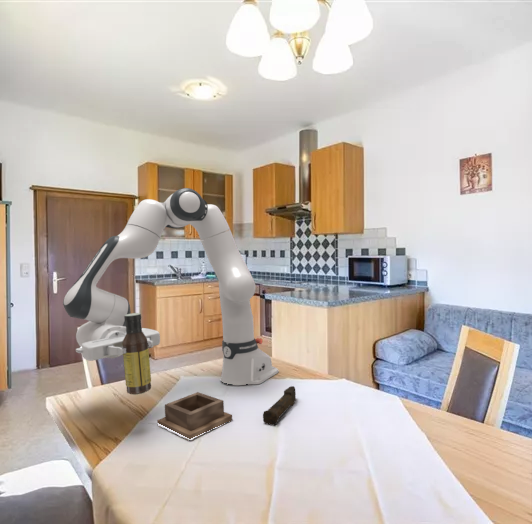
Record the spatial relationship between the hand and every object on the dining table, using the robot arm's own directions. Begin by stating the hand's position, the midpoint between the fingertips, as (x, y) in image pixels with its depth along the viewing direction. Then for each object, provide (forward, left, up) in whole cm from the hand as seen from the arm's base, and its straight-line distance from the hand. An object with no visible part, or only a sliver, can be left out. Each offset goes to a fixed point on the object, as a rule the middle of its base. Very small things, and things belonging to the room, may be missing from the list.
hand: (137, 348), depth 95 cm
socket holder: (-12, +7, -22) cm, 26 cm away
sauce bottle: (0, -1, -11) cm, 11 cm away
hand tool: (-31, +21, -22) cm, 44 cm away
